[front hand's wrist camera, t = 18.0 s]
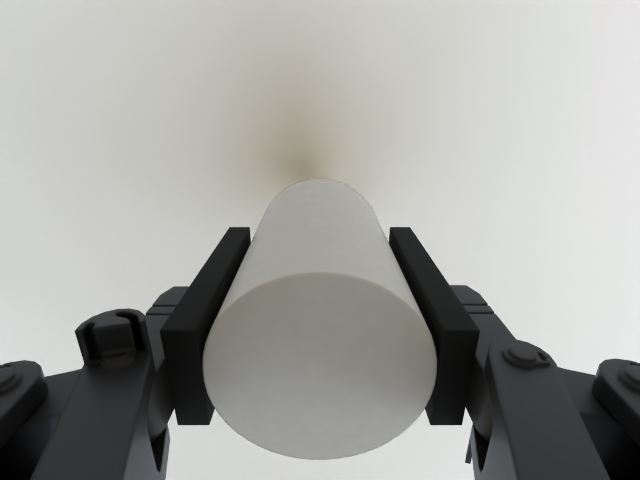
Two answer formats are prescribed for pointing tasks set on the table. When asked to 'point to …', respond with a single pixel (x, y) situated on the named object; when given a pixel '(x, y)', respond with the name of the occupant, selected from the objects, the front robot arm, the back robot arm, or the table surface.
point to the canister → (319, 332)
